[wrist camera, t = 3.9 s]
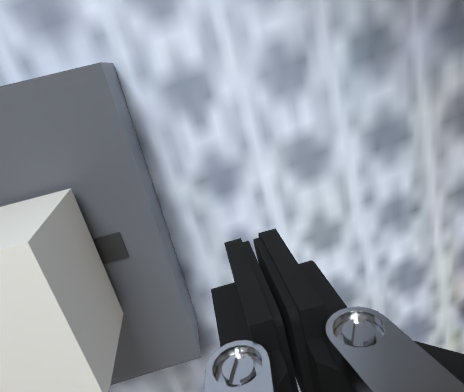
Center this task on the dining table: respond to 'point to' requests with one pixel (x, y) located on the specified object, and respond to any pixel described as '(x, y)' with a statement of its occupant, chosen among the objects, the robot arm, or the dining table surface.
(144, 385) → the dining table surface
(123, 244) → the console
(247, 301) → the robot arm
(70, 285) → the fader
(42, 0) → the dining table surface
